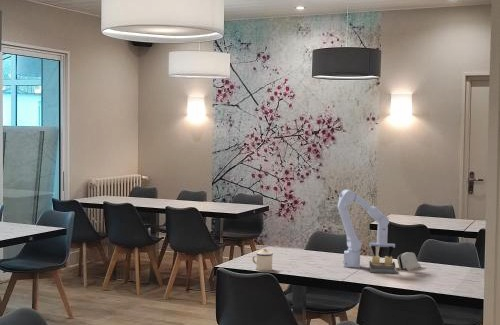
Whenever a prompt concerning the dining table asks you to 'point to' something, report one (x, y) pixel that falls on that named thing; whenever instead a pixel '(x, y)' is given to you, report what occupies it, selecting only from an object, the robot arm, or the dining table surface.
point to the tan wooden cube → (388, 260)
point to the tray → (382, 269)
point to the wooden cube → (375, 259)
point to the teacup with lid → (263, 260)
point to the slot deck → (382, 264)
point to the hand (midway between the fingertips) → (381, 259)
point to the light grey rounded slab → (408, 261)
